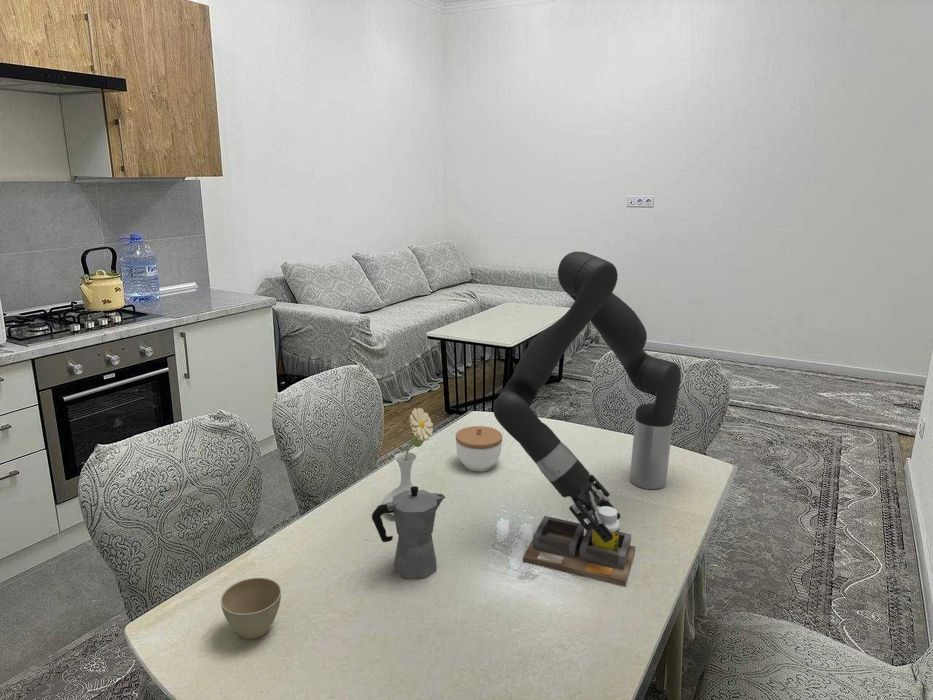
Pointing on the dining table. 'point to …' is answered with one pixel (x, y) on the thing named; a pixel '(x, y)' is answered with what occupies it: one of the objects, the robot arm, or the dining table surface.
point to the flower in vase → (405, 459)
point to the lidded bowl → (478, 447)
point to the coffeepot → (412, 531)
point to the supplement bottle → (611, 522)
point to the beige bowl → (251, 606)
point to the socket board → (579, 552)
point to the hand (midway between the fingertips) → (613, 529)
